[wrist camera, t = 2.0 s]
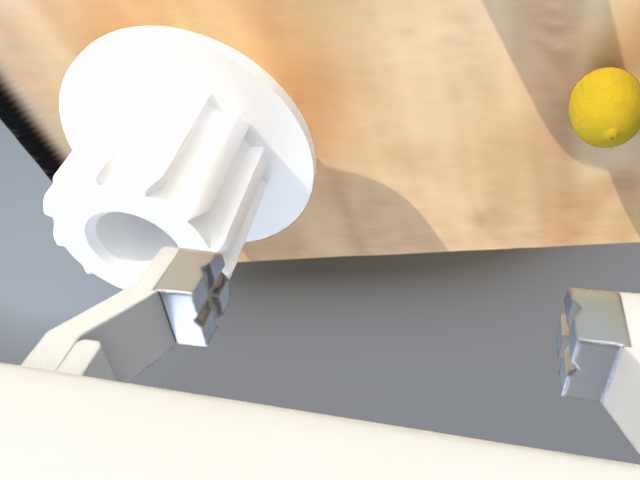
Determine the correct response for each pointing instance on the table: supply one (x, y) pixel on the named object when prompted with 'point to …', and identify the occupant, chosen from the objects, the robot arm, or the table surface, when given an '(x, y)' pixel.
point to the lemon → (606, 107)
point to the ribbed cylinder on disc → (173, 152)
